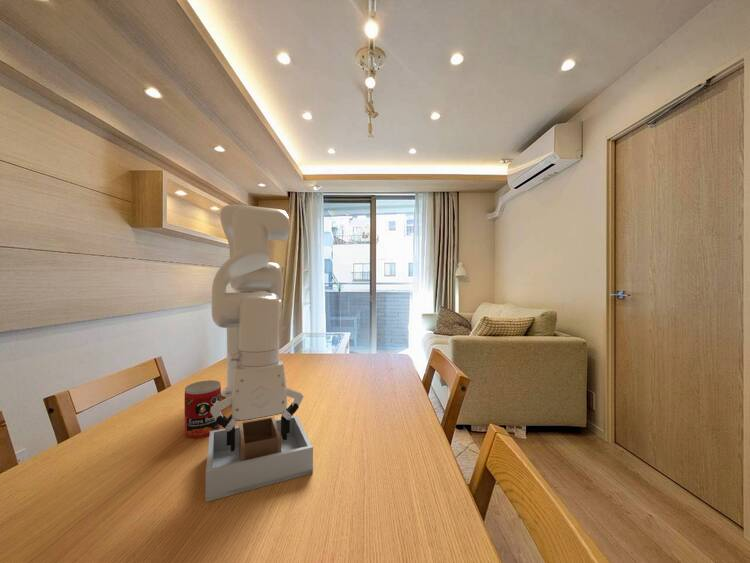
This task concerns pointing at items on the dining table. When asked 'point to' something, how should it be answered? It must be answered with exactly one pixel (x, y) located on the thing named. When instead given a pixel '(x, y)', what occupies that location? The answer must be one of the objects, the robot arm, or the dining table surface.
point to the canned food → (201, 408)
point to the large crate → (255, 463)
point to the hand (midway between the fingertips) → (259, 442)
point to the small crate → (258, 438)
